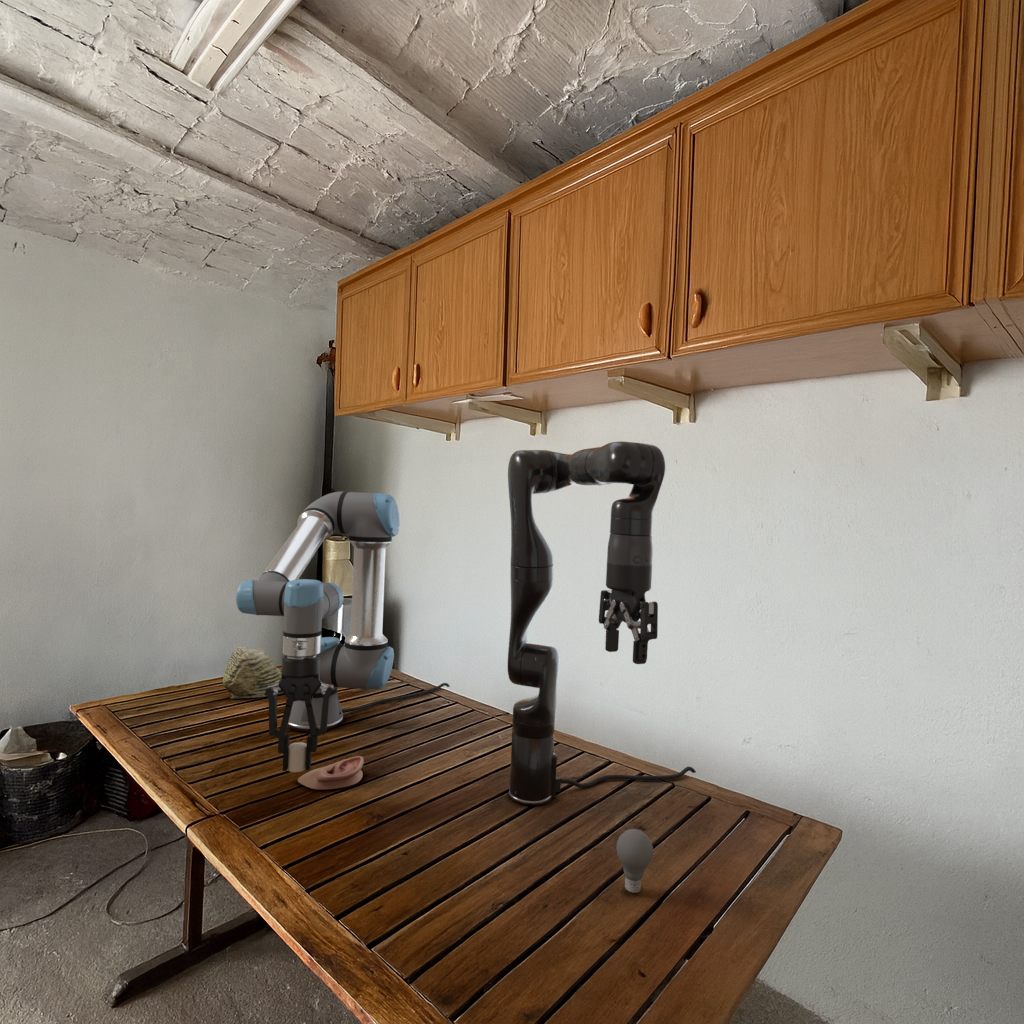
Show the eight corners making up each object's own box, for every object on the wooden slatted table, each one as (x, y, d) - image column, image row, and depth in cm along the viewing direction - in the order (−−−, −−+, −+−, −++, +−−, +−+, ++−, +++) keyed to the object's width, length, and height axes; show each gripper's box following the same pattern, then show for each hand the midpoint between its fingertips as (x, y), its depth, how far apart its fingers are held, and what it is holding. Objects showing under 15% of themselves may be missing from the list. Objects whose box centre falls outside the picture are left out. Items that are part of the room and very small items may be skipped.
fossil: (218, 695, 195) (220, 647, 195) (278, 685, 208) (279, 640, 207) (228, 703, 189) (230, 653, 188) (289, 692, 201) (290, 645, 201)
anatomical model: (290, 768, 137) (317, 748, 149) (290, 786, 138) (316, 764, 149) (347, 776, 135) (370, 755, 146) (346, 794, 135) (369, 772, 146)
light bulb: (610, 879, 108) (613, 822, 108) (644, 879, 109) (647, 822, 109) (619, 902, 102) (622, 840, 102) (655, 901, 103) (658, 840, 103)
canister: (307, 770, 130) (308, 748, 130) (288, 773, 129) (289, 750, 129) (305, 763, 134) (306, 741, 134) (286, 766, 132) (287, 743, 132)
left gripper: (254, 659, 125) (249, 777, 126) (342, 659, 129) (337, 773, 129) (261, 651, 133) (257, 761, 133) (344, 650, 136) (340, 759, 136)
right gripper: (674, 566, 101) (669, 666, 102) (625, 557, 114) (621, 646, 115) (634, 566, 98) (629, 669, 99) (588, 556, 112) (584, 648, 112)
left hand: (297, 767), depth 131 cm, fingers closed on canister, 4 cm apart
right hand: (624, 657), depth 107 cm, fingers open, 8 cm apart
